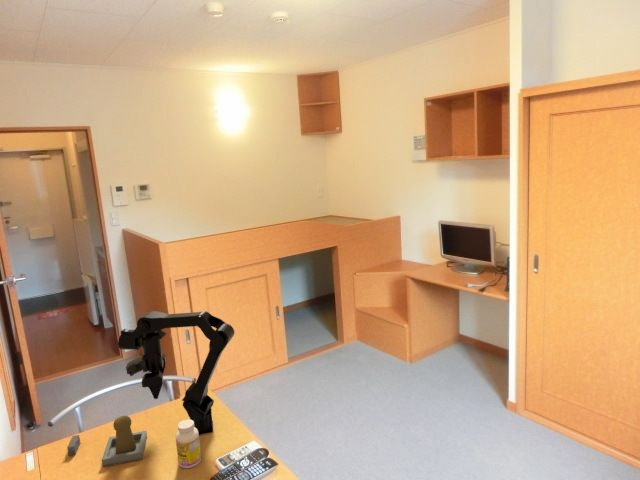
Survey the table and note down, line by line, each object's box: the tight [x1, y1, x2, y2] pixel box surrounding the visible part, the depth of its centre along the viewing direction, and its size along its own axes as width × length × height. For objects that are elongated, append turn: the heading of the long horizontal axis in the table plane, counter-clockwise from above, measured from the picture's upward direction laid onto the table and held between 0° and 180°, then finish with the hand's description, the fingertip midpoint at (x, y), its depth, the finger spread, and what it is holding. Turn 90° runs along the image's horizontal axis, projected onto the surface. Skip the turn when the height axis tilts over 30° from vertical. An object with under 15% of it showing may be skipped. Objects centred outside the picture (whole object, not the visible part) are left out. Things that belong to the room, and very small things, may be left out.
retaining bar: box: [66, 434, 81, 457], centre depth 143 cm, size 2×6×3 cm, turn 14°
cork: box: [113, 415, 136, 454], centre depth 140 cm, size 6×6×11 cm
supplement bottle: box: [175, 418, 202, 469], centre depth 134 cm, size 7×7×13 cm
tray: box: [101, 430, 148, 468], centre depth 141 cm, size 11×11×2 cm
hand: (157, 392), depth 151 cm, fingers open, 8 cm apart
